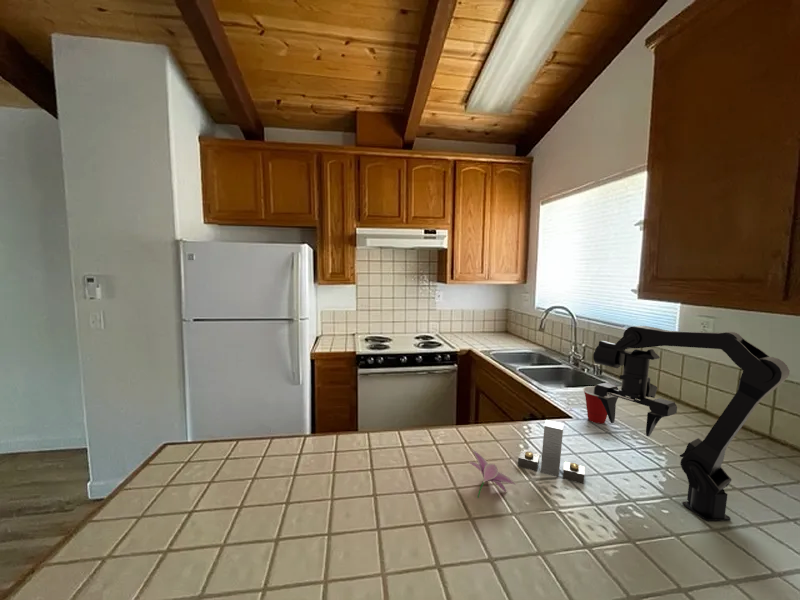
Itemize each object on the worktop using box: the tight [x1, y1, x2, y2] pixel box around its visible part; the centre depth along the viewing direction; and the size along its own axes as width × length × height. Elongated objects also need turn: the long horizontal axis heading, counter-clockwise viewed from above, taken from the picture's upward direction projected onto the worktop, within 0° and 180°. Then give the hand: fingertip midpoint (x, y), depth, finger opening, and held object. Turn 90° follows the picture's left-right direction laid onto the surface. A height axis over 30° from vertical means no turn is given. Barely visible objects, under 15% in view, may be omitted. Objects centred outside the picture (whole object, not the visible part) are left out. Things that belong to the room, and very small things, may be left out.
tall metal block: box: [540, 419, 564, 478], centre depth 102 cm, size 4×4×13 cm
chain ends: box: [517, 450, 586, 485], centre depth 102 cm, size 16×5×3 cm, turn 63°
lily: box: [468, 449, 517, 499], centre depth 90 cm, size 12×12×10 cm
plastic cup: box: [582, 385, 608, 424], centre depth 142 cm, size 11×11×12 cm
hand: (629, 429), depth 101 cm, fingers open, 9 cm apart
